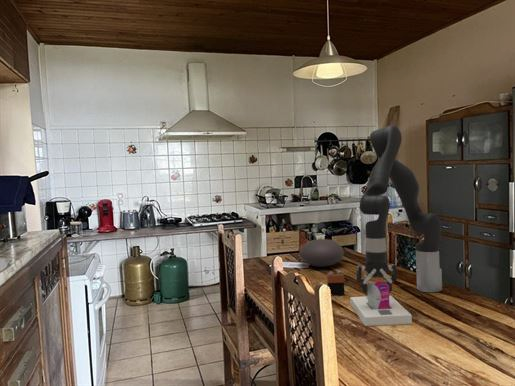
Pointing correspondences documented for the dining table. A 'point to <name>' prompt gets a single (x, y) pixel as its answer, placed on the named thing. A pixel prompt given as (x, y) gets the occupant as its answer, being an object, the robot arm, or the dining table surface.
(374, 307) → the supplement box
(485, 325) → the dining table surface
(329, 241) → the smooth stone
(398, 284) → the dining table surface
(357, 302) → the light grey flat block
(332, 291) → the battery
